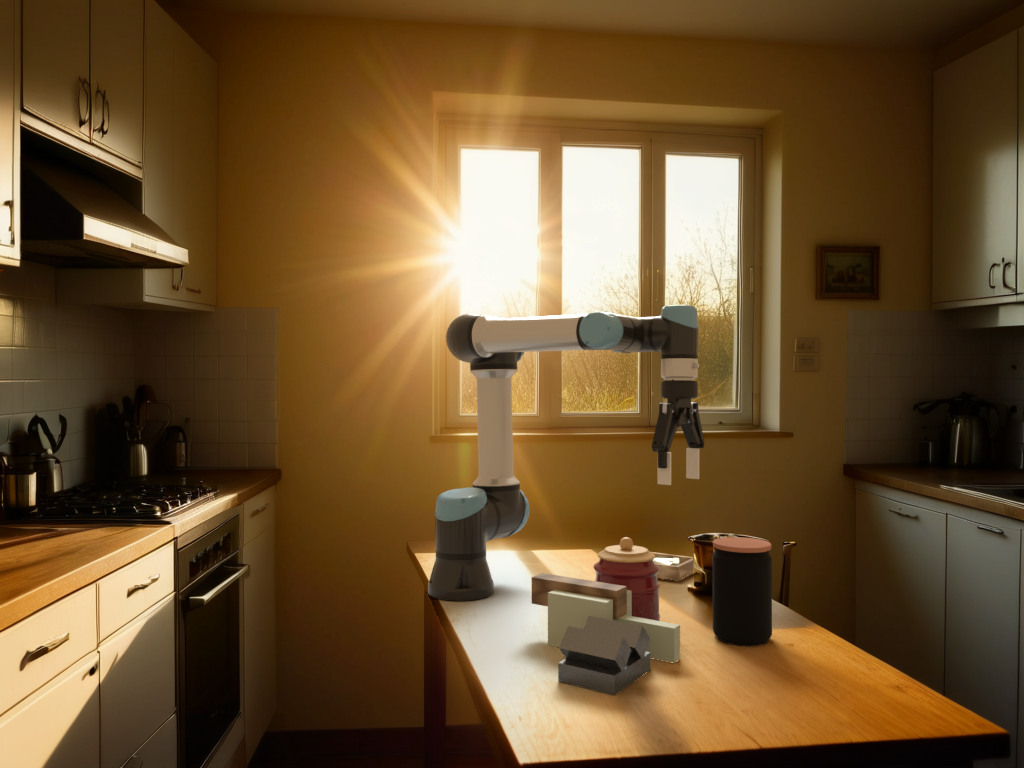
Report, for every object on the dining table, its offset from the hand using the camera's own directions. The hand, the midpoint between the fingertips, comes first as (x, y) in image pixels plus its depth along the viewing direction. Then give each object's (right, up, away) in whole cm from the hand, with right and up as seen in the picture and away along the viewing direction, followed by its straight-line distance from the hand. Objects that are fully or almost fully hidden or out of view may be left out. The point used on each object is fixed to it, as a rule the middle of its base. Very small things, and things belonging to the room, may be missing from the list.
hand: (679, 481), depth 163 cm
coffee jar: (+8, -28, -16) cm, 33 cm away
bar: (-23, -21, -18) cm, 36 cm away
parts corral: (+4, -28, +37) cm, 46 cm away
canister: (-12, -28, -9) cm, 32 cm away
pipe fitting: (+4, -28, +37) cm, 47 cm away
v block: (-20, -27, -36) cm, 49 cm away
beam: (-16, -27, -22) cm, 39 cm away
